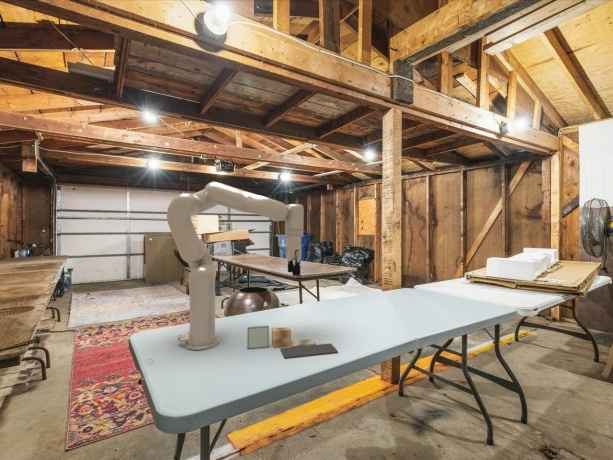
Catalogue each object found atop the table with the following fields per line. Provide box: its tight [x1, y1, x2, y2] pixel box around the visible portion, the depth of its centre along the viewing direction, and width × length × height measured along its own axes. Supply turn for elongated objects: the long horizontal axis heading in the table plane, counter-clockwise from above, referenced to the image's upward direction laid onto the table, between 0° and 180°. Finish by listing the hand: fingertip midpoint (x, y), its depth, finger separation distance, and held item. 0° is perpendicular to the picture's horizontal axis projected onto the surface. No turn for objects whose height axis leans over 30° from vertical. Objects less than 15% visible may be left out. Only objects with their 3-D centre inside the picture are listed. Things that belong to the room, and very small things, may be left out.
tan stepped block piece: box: [271, 326, 317, 349], centre depth 119 cm, size 17×5×6 cm, turn 105°
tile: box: [246, 324, 270, 350], centre depth 116 cm, size 8×2×8 cm, turn 105°
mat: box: [280, 343, 339, 360], centre depth 113 cm, size 20×8×1 cm, turn 105°
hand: (293, 273), depth 128 cm, fingers open, 9 cm apart
